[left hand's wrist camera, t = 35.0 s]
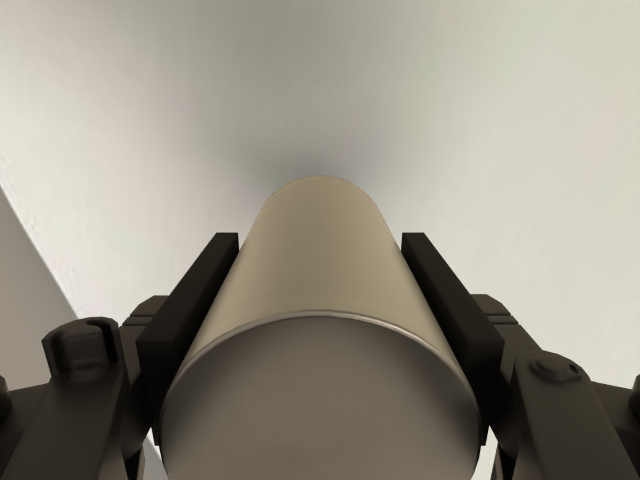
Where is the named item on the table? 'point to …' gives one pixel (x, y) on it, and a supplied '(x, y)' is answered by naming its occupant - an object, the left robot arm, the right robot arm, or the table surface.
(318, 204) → the canister
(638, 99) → the table surface
